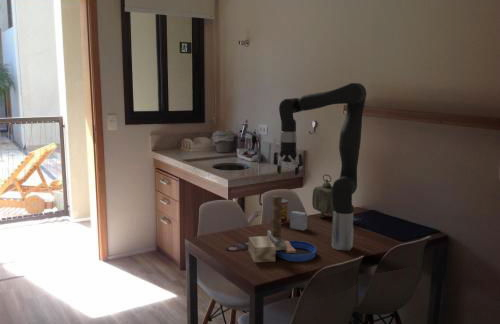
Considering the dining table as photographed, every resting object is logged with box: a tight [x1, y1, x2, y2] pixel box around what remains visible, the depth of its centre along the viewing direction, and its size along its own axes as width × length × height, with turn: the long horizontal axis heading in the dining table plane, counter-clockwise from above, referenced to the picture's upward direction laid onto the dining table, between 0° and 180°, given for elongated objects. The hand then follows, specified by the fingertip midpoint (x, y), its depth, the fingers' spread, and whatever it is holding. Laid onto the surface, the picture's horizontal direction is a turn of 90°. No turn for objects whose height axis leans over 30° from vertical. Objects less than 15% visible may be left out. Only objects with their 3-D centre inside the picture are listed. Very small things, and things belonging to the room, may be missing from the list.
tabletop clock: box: [311, 174, 333, 219], centre depth 255 cm, size 14×9×25 cm, turn 32°
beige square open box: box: [247, 235, 287, 263], centre depth 196 cm, size 14×14×6 cm
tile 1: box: [284, 247, 296, 253], centre depth 194 cm, size 4×4×1 cm
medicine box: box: [289, 210, 308, 231], centre depth 235 cm, size 8×4×9 cm, turn 58°
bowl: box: [276, 240, 318, 262], centre depth 199 cm, size 18×18×4 cm
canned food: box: [281, 198, 289, 225], centre depth 247 cm, size 8×8×12 cm
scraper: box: [266, 194, 286, 247], centre depth 195 cm, size 4×15×20 cm, turn 11°
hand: (288, 174), depth 217 cm, fingers open, 8 cm apart
